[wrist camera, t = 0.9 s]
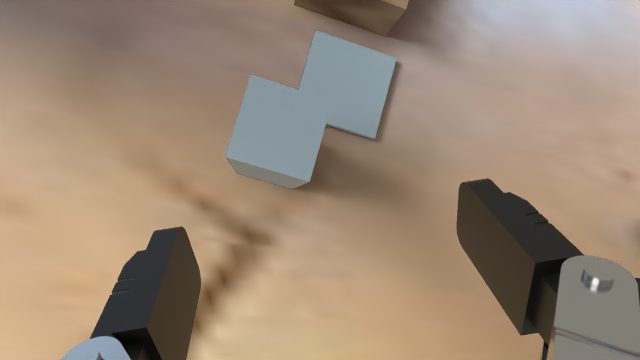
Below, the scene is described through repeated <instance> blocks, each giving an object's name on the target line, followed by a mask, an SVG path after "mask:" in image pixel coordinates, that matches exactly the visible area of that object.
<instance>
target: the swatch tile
mask: <svg viewBox="0 0 640 360" xmlns="http://www.w3.org/2000/svg"><path fill="white" fill-rule="evenodd" d="M396 59H397V58H395V57H392V56H390V55H387V54H384V53H381V52H378V51H375V50H372V49H369V48H366V47H363V46H360V45H358V44H355V43H352V42H349V41H346V40H343V39H340V38H337V37H334V36H331V35H329V34H326V33H323V32H320V31H317V30H316V31H315V34H314V38H313V41H312V45H311V48H310V51H309V55H308V58H307V62H306V65H305V68H304V72H303V75H302V79H301V82H300V86H299V89H298V90H301V91H304V92H307V93H310V94H313V95H316V96H320V97H323V98H326V99H329V100H332V101H333V102H332V105H331V109H330V112H329V116H328V119H327V123H326V125H328V126H331V127H334V128H337V129H340V130H343V131H347V132H350V133H353V134H356V135H359V136H363V137H366V138H369V139H372V140H373V139H375V137H376V133H377V130H378V126H379V122H380V118H381V115H382V111H383V107H384V104H385V100H386V96H387V92H388V89H389V85H390V81H391V78H392V74H393V70H394V66H395V63H396Z"/></svg>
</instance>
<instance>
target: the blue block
mask: <svg viewBox="0 0 640 360" xmlns="http://www.w3.org/2000/svg"><path fill="white" fill-rule="evenodd" d="M332 102H333V101H332V100H329V99H326V98H323V97H320V96H316V95H313V94H310V93H307V92H304V91H301V90H298V89H295V88H292V87H289V86H286V85H282V84H279V83H276V82H273V81H270V80H267V79H264V78H261V77H258V76H255V75H251V74H250V77H249V81H248V84H247V87H246V90H245V94H244V97H243V100H242V103H241V107H240V110H239V113H238V117H237V120H236V123H235V126H234V130H233V133H232V136H231V139H230V143H229V146H228V149H227V152H226V156H225V157H226V159H227V160H228V162H229V163H230V164H231V166H232V167H233V169H234V170H235V172H236V173H238V174H241V175H245V176H248V177H252V178H255V179H258V180H262V181H265V182H269V183H272V184H276V185H279V186H283V187H286V188H290V189H294V188H296V187H299V186H301V185H303V184H306V183H308V182H310V179H311V176H312V172H313V169H314V165H315V162H316V158H317V155H318V151H319V147H320V144H321V140H322V137H323V133H324V130H325V126H326V123H327V119H328V116H329V112H330V109H331V105H332Z"/></svg>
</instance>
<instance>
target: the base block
mask: <svg viewBox="0 0 640 360" xmlns="http://www.w3.org/2000/svg"><path fill="white" fill-rule="evenodd" d="M408 2H409V0H295V3H294V5H297V6H300V7H303V8H305V9H308V10H311V11H314V12H317V13H320V14H323V15H325V16H328V17H331V18H334V19H337V20H340V21H343V22H345V23H348V24H351V25H354V26H357V27H360V28H362V29H365V30H368V31H371V32H374V33H377V34H380V35H382V36H385V37H386V36H387V34H388V33H389V32H390V30H391V29H392V28H393V26H394V25H395V24H396V22H397V21H398V20H399V18H400V17H401V16H402V15H403V13H404V12H405V11H406V9H407V5H408Z"/></svg>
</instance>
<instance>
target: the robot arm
mask: <svg viewBox="0 0 640 360" xmlns="http://www.w3.org/2000/svg"><path fill="white" fill-rule="evenodd" d="M457 235H458V239H459V241H460V244H461V246H462V248H463V249H464V251H465V252H466V254H467V255H468V257H469V258H470V260H471V261H472V263H473V264H474V266H475V267H476V269H477V270H478V272H479V273H480V275H481V276H482V278H483V279H484V281H485V282H486V284H487V285H488V287H489V288H490V290H491V291H492V293H493V294H494V296H495V297H496V299H497V300H498V302H499V303H500V305H501V306H502V308H503V309H504V311H505V312H506V314H507V315H508V317H509V318H510V320H511V321H512V323H513V324H514V326H515V327H516V329H517V330H518V332H519V333H520V335H527V334H533V333H539V334H540V336H541V337H542V338H543V340H544V341H543V345H542V349H541V356H540V360H640V278H634V277H633V276H632V274H631V273H630V272H628V271H627V270H626V269H625V268H623V267H622V266H620V265H618V264H616V263H614V262H612V261H610V260H607V259H604V258H600V257H595V256H585V255H583V254H582V253H581V252H580V251H579V250H578V249H577V248H576V247H575V246H574V245H573V244H572V243H571V242H570V241H569V240H568V239H567V238H566V237H565V236H563V235H562V234H561V233H560V232H559V231H558V230H557V229H556V228H555V227H554V226H553V225H552V224H551V223H550V224H549V223H548V220H547V219H546V218H545V217H543V216H542V215H541V214H539V212H538V211H537V210H536V209H535V208H534V207H533V206H532V205H531V204H530V203H529V202H528V201H526V200H524V199H522V198H520V197H518V196H516V195H514V194H512V193H510V192H508V193H503V192H502V191H501V190H500V189H499V188H498V187H497V186H496V185H495V184H494V183H493V182H492V181H491V180H490V179H481V180H475V181H468V182H463V183H461V184H460V187H459V196H458V211H457ZM117 280H118V282H117V283H116V284H115V286H114V288H113V290H112V295H110V297H109V299H108V301H107V303H106V305H105V307H104V309H103V312H102V314H101V316H100V318H99V320H98V322H97V325H96V327H95V329H94V331H93V333H92V335H91V337H90V339H89V340H87V341H85V342H82V343H81V344H79V345H77V346H76V347H74V348H73V349H71V350H70V351H69V352H68V353H66V354H65V355H64V356H63V357H62V358H61V359H60V360H186V357H187V353H188V348H189V343H190V338H191V333H192V328H193V323H194V318H195V313H196V308H197V304H198V299H199V294H200V288H201V277H200V271H199V267H198V264H197V261H196V258H195V255H194V252H193V250H192V247H191V244H190V241H189V238H188V235H187V233H186V230H185V229H184V228H183V227H175V228H169V229H163V230H156V231H154V232H153V234H152V237H151V239H150V241H149V244H148V246H147V249H146V250H143V251H137V253H136V254H135V255H134V256H133V257H132V258H131V259H130V260H129V261H128V262H127V263H126V264H125V265H124V267H123V269H122V271H121V273H120V275H119V277H118V279H117Z"/></svg>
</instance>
